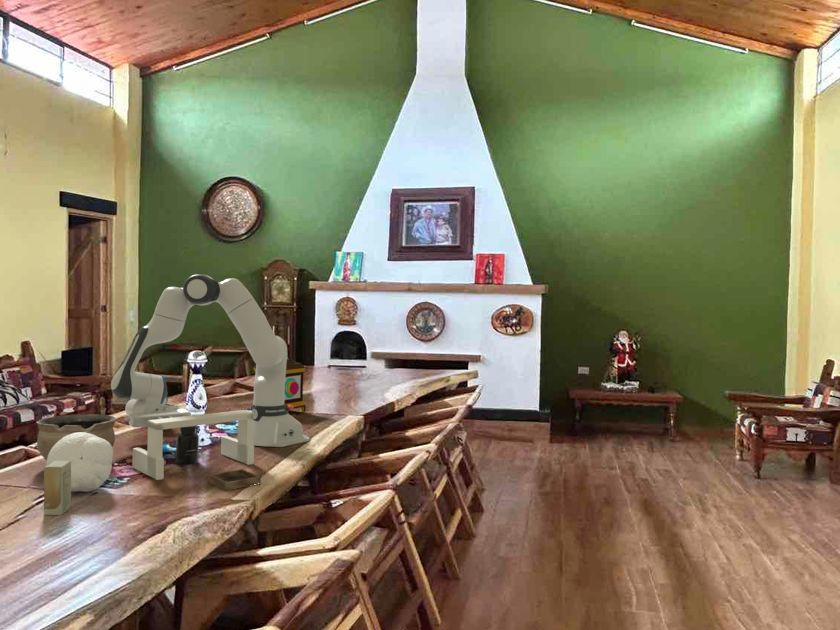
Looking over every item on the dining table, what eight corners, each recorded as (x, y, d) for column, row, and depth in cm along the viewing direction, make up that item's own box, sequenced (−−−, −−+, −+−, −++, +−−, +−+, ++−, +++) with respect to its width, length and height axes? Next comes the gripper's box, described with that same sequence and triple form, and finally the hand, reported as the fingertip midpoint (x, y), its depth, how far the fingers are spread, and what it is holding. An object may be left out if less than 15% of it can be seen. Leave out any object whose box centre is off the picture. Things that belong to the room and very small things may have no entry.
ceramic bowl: (35, 478, 208) (35, 427, 207) (36, 461, 227) (36, 414, 227) (118, 471, 218) (118, 422, 218) (112, 455, 238) (112, 410, 237)
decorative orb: (70, 479, 209) (70, 424, 208) (130, 481, 208) (131, 427, 207) (30, 499, 189) (31, 439, 188) (97, 502, 188) (97, 441, 188)
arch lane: (226, 453, 246) (227, 405, 245) (253, 463, 233) (254, 413, 232) (132, 467, 224) (133, 414, 223) (156, 479, 211) (157, 424, 210)
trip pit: (241, 476, 217) (241, 469, 217) (260, 484, 209) (260, 476, 209) (208, 482, 210) (208, 474, 210) (226, 490, 202) (226, 483, 202)
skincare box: (53, 507, 183) (54, 459, 182) (71, 507, 183) (72, 460, 183) (42, 515, 177) (43, 466, 176) (61, 515, 177) (61, 466, 176)
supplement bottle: (191, 465, 228) (192, 428, 227) (171, 464, 229) (172, 426, 229) (202, 460, 235) (202, 424, 234) (183, 459, 236) (183, 422, 235)
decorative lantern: (310, 412, 328) (311, 346, 327) (279, 418, 311) (281, 349, 310) (277, 407, 339) (279, 343, 337) (246, 413, 322) (247, 346, 321)
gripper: (122, 408, 243) (139, 415, 233) (180, 404, 257) (198, 410, 247) (122, 427, 243) (138, 434, 233) (179, 421, 257) (197, 428, 247)
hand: (169, 422), depth 240 cm, fingers closed
